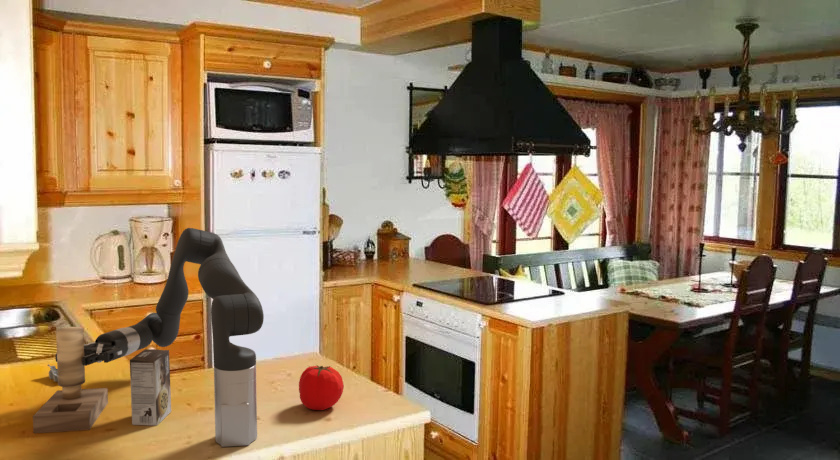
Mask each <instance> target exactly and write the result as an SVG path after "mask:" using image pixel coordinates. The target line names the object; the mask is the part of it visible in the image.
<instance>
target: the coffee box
mask: <svg viewBox="0 0 840 460" xmlns="http://www.w3.org/2000/svg"><path fill="white" fill-rule="evenodd" d="M170 365H171V364H170V349H168V350H167V349H156V348H155V349H151V348H150V349H148V348H146V349H145V348H144V349H143V350H142V351H141V352H139V353H138V354H136V355H135V356H133V357H132V358H131V359H129V372H130V373H129V375H130V377H129V378H130V397H131V398H130V401H131V402H130V404H131V425H133V426H155V427H156V426H158V425H159V424H160V423H161V422H163V420H164V419H165V418H166V417H168V415H170V413H171V412H172V399H171V398H172V397H171V393H172V392H171V370H170V369H171V368H170V367H171V366H170Z"/></svg>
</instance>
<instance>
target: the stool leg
mask: <svg viewBox="0 0 840 460" xmlns="http://www.w3.org/2000/svg"><path fill="white" fill-rule="evenodd" d="M84 333H85V332H84V327H81V326H65V327H61V328H58V329H57V330H55V336H56V340H55V341H56V353H57V362H56V365H57V368H56V369H58V381H57V385H58V386H59V387H61V390H62V394H63V399H66V400H71V399H77V398H79V397H81V389H82V385H83V384H85V383H86V372H85V371H86V368H85V367H86V366H84V365H83V363H82V358H83V357H84V344H85V336H84V335H85V334H84Z"/></svg>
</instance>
